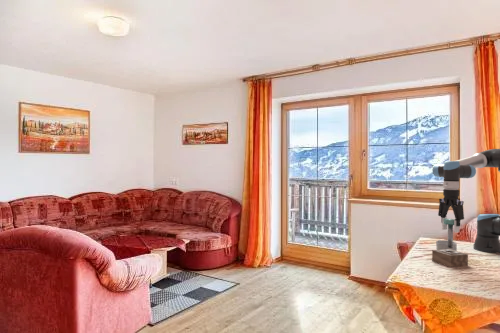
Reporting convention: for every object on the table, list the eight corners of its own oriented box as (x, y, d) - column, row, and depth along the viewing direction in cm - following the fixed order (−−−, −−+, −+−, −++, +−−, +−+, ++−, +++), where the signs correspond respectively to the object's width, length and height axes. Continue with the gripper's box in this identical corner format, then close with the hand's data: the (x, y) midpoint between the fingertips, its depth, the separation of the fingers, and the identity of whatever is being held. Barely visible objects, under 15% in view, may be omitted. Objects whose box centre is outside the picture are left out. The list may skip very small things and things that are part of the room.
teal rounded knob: (439, 246, 190) (440, 218, 189) (449, 245, 192) (450, 218, 191) (450, 249, 183) (451, 220, 183) (460, 248, 185) (461, 220, 185)
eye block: (448, 259, 195) (448, 248, 195) (467, 265, 183) (468, 253, 183) (432, 260, 191) (432, 249, 191) (450, 267, 180) (450, 255, 180)
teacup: (459, 258, 198) (459, 244, 197) (439, 256, 200) (439, 243, 200) (450, 252, 211) (450, 239, 211) (431, 251, 213) (431, 238, 213)
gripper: (431, 187, 195) (430, 227, 195) (462, 190, 176) (461, 234, 177) (441, 187, 197) (440, 227, 198) (473, 190, 178) (472, 234, 179)
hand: (450, 230), depth 187 cm, fingers closed on teal rounded knob, 7 cm apart
